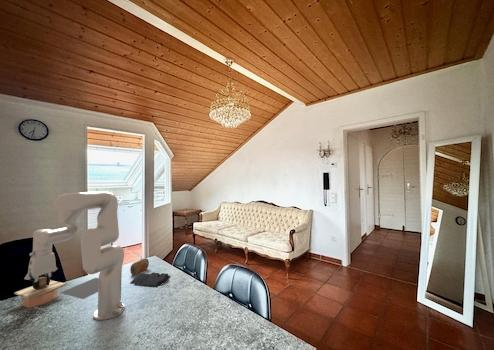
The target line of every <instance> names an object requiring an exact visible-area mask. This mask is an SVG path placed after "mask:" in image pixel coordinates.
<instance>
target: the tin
mask: <svg viewBox="0 0 494 350" xmlns="http://www.w3.org/2000/svg"><path fill="white" fill-rule="evenodd" d="M149 265H150V262H149V259H148V258H142V259H141V258H140V259H139V260H137V261H135V262H133V263H132V264H131V266H130V269H129V271H130V274H131V275H133V276H138V275H139V274H141V272H142V273H144V272H145V271H147V269H148V268H149ZM144 270H145V271H144Z"/></svg>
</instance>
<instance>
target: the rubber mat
mask: <svg viewBox="0 0 494 350" xmlns="http://www.w3.org/2000/svg"><path fill="white" fill-rule="evenodd" d="M98 279H99V277H94V278H91V279H89V280H87V281H85V282H81V283H80V284H77V285H74V286H72V287H70V288H67V289H64V290H63V291H60V292H59V293H60V294H63V295H66V296H67V295H68V296H70V297H75V298H77V299H82V300H83V299H84V300H85V299H86V298H89V297H91V296H92V295H94V294H98Z"/></svg>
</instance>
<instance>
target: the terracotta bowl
mask: <svg viewBox="0 0 494 350" xmlns="http://www.w3.org/2000/svg"><path fill="white" fill-rule="evenodd" d="M57 296H58V289H56V290H53V291H51V292H48V293H46V294H43V295H41V296H38V297H36V298H33V299H29V298H26V297H23V298H22V299H23V304H22V306H23V307H26V308H34V307H37V306H41V305H44V304H46V303H48V302H50V301H53V300H55V298H56V297H57Z"/></svg>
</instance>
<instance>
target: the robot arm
mask: <svg viewBox="0 0 494 350" xmlns="http://www.w3.org/2000/svg"><path fill="white" fill-rule="evenodd" d="M53 205H54V208H55V209H56V211H59V213H58V216H57V218H58V220H59V221H60V222H61V223H63V224H66V226H65V227H60V228H53V229H51V228H42V229H40V228H39V229H37V230H35V231H34V232H33V235H32V236H33V237H32V238H33V239H32V252H30V253H29V257H30V259H29V263H28V269H27V274H26V275H25V277H24V278H23V279H24V280H28V281H31V282H32V286H33V288H34V289H39V281H38V278H40V277H41V276H43V275H45V277H47V285H49V283H50V280H51V277H52V276H53V274H54V273H55V272H56V271H57V270H58V269H59V268H58V267H57V264H56V261H57V260H56V256H55V253H54V252H53V245H55V244H58V243H59V244H60V243H63V242H67V241H69V240H71V239H72V238H74V236H75V235H76V233H78V231H79V227H80V221H79V218H81V216H82V215H83V213H84V212H85V211H86V210H87V211H88V210H94V209H100V210H99V211H98V214H97V216H96V220H97V221H96V223H97V224H96V225H97V226H93V227H90V228H88V229H85V231H84V232H83V233H82V235H81V238H80V251H81V253H80V254H81V263H82V269H83V271H84V272H85V273H86V274H88V275H95V274H97V273H99V274H98V278H99V279H98V292H97V309H96V310H95V311H94V312H93V315H92V316H93V319H95V320H96V321H104V320H109V319H113V318H114V317H117V316H119V315H120V314H122V313H123V311H124V310H125V309H126V306H125V304H124V303H123V301H122V272H123V271H122V270H123V265H124V264H123V263H124V259H125V251H124V248H123V247H122V246H121V245H117V244H115V245H111V244H112V243H115V242H117V241H118V239H119V237H120V231H119V229H120V228H119V218H118V210H119V209H118V207H119V204H118V199H117V197H116V195H115V194H114V193H112V192H109V191H104V190H103V191H100V190H98V191H84V192H81V191H80V192H73V193H62V194H60V195H58V196H57V197H56V199H55V201H54V204H53ZM108 245H109V246H108ZM103 246H106V247H104V248H102V247H103Z"/></svg>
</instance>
